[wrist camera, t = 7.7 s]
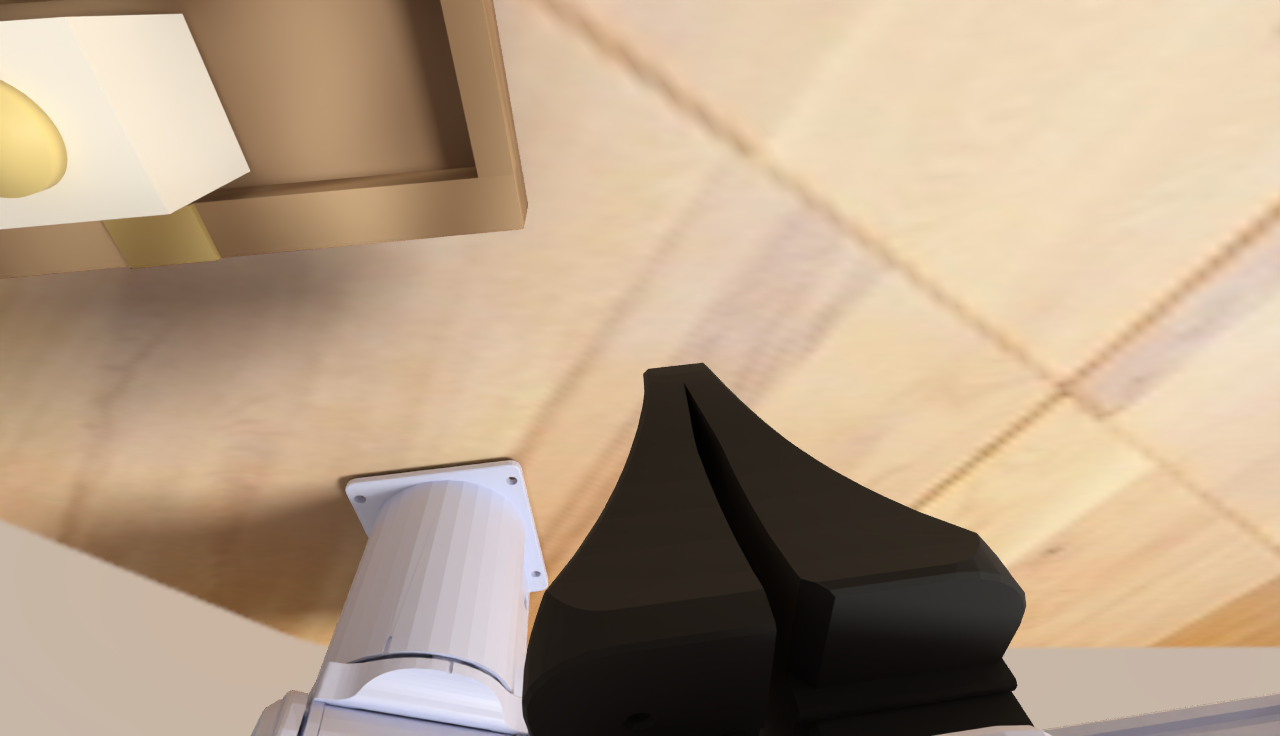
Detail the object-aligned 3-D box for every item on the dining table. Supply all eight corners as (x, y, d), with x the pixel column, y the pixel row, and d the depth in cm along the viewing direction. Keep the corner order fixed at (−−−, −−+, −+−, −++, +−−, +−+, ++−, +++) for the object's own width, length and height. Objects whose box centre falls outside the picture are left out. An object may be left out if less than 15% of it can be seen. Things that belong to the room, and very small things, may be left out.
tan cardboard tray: (481, -96, 15) (459, -122, 12) (529, 194, 20) (522, 231, 17) (-100, -60, 15) (-285, -78, 11) (86, 235, 19) (-10, 282, 16)
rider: (182, 13, 14) (44, 17, 10) (250, 171, 16) (156, 220, 13) (-27, 28, 14) (-246, 37, 10) (70, 186, 16) (-80, 242, 12)
